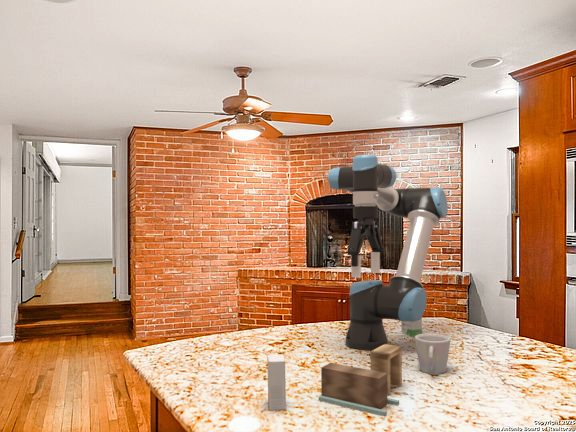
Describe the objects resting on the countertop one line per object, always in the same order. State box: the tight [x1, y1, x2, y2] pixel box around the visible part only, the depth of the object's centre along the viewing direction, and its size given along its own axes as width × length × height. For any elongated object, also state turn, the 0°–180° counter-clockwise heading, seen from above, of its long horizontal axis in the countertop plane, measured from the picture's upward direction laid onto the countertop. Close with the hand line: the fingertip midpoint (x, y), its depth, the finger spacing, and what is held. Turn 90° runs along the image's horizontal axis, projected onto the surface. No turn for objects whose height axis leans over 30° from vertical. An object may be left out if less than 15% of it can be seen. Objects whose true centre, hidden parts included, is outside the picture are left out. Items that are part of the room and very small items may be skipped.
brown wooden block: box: [320, 362, 388, 410], centre depth 125 cm, size 16×5×8 cm, turn 56°
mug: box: [414, 332, 451, 375], centre depth 147 cm, size 10×15×10 cm
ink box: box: [400, 315, 423, 338], centre depth 194 cm, size 9×5×12 cm, turn 14°
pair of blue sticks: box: [318, 395, 400, 417], centre depth 124 cm, size 18×9×1 cm, turn 56°
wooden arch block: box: [369, 343, 403, 397], centre depth 133 cm, size 5×10×11 cm, turn 146°
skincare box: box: [266, 353, 287, 411], centre depth 122 cm, size 6×4×12 cm
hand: (366, 275), depth 151 cm, fingers open, 13 cm apart
